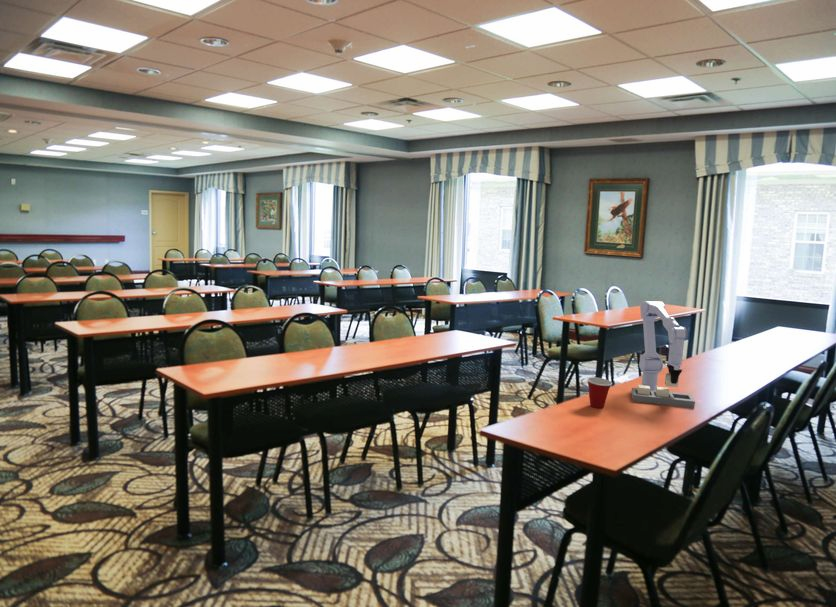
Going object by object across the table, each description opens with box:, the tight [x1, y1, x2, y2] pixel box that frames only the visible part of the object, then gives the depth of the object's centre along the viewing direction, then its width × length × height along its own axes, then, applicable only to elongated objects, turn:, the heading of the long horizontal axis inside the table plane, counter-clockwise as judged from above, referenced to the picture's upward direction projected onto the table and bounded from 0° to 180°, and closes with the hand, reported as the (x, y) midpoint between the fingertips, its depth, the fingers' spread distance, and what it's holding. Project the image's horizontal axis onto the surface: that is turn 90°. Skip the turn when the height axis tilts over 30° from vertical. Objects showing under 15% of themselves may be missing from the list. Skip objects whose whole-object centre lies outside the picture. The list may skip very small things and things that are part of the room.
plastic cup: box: [586, 376, 613, 409], centre depth 267 cm, size 11×11×12 cm
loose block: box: [664, 372, 680, 388], centre depth 278 cm, size 5×5×5 cm
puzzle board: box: [630, 384, 696, 409], centre depth 280 cm, size 13×26×6 cm, turn 74°
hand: (672, 381), depth 278 cm, fingers closed on loose block, 5 cm apart
